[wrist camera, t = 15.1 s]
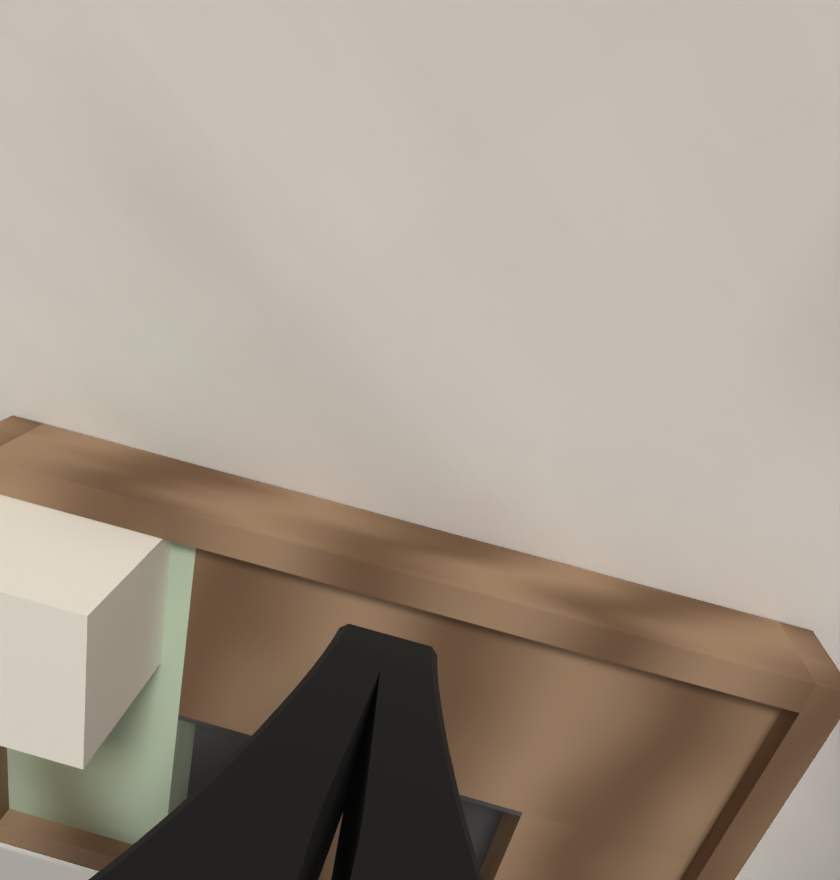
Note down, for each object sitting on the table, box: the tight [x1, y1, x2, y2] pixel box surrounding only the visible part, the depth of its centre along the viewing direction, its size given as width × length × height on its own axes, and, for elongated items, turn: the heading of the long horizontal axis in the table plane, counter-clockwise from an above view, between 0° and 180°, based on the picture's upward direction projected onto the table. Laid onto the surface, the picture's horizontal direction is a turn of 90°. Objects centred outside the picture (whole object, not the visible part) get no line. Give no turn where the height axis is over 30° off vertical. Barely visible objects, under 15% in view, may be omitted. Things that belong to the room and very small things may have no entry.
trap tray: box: [0, 416, 840, 880], centre depth 22 cm, size 25×16×3 cm, turn 77°
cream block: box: [0, 494, 171, 769], centre depth 18 cm, size 5×5×4 cm
